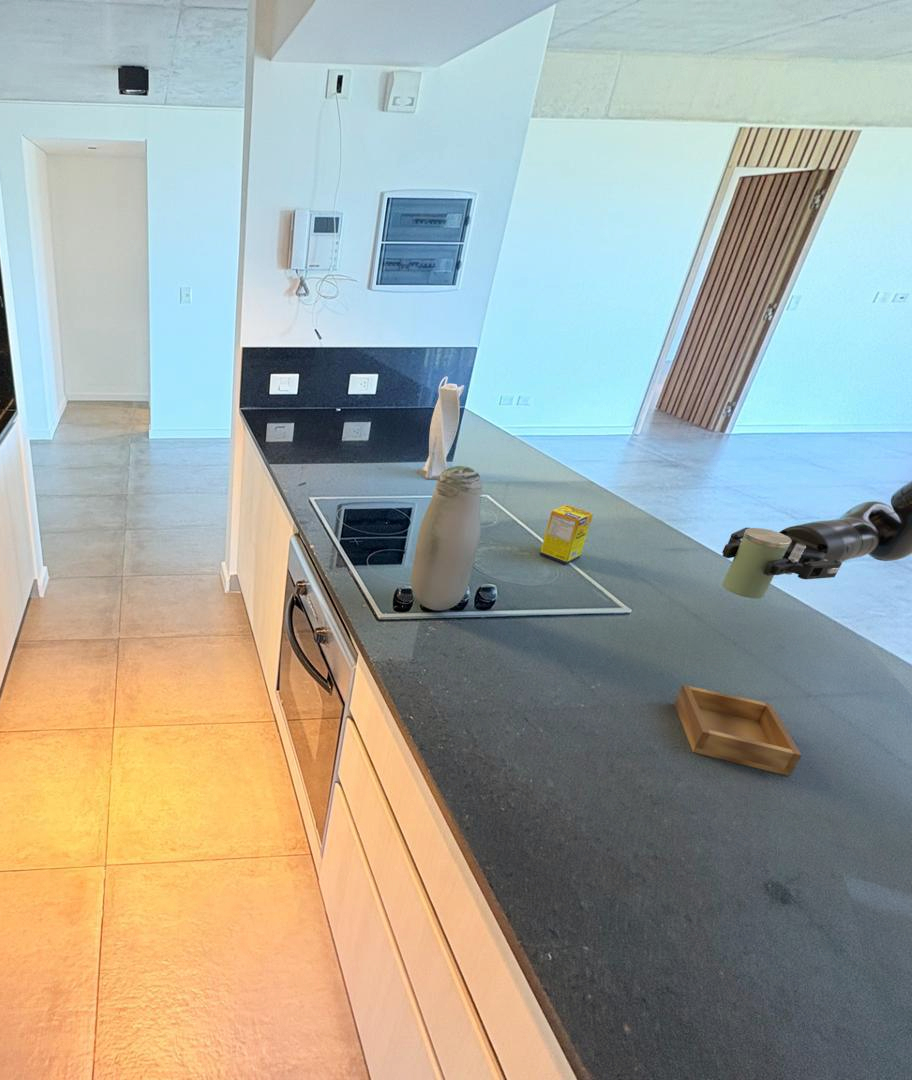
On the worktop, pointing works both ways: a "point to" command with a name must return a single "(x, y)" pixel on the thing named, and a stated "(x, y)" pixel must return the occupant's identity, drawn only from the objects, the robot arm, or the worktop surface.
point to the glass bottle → (448, 540)
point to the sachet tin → (755, 562)
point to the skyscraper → (442, 429)
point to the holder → (736, 730)
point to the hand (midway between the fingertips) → (746, 560)
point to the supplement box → (566, 534)
